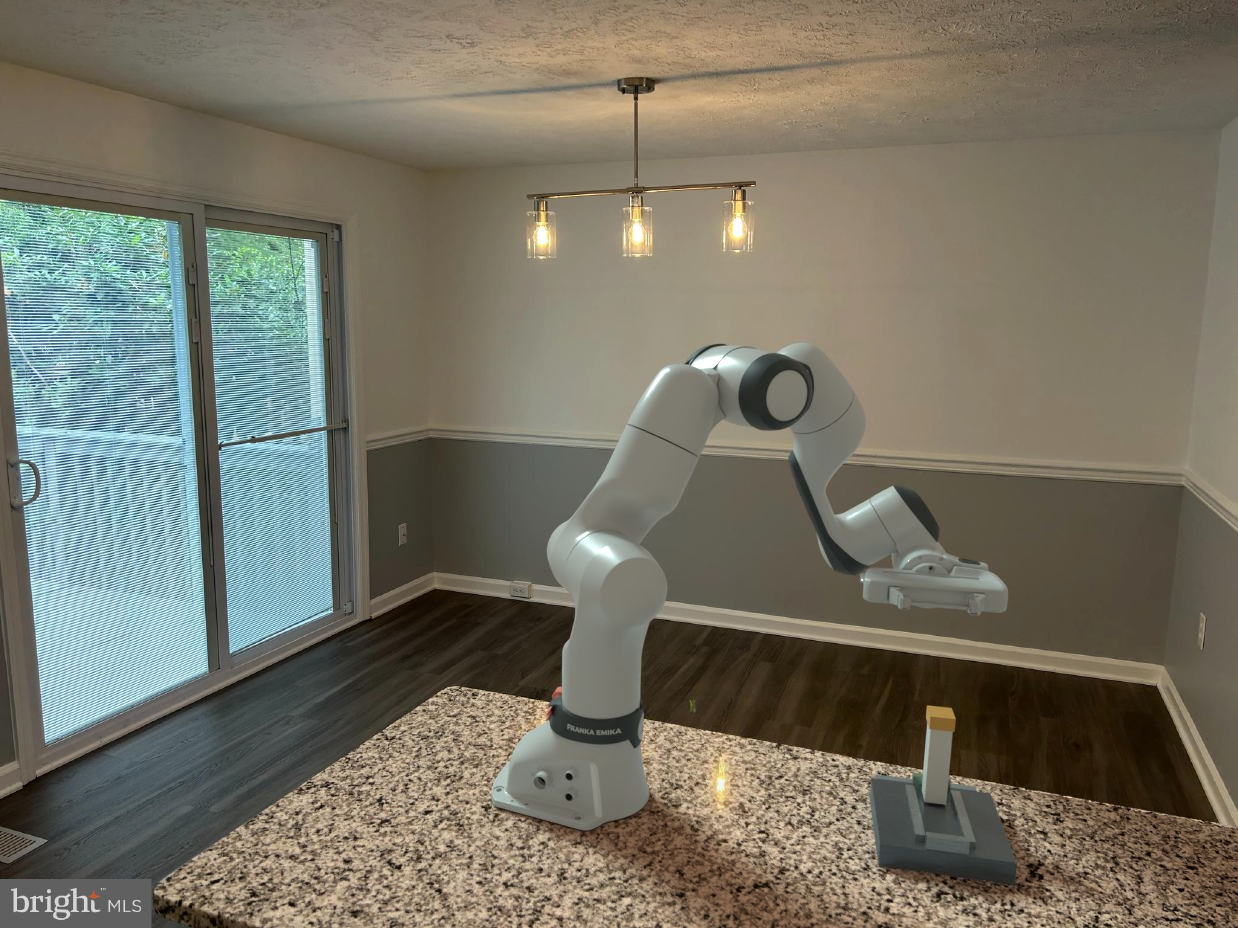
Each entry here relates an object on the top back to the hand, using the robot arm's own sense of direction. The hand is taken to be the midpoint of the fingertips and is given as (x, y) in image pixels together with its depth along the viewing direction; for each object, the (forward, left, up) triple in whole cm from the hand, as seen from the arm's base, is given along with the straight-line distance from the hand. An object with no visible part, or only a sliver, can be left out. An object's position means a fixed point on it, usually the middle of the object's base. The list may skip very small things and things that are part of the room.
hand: (940, 607), depth 122 cm
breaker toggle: (0, -8, -25) cm, 26 cm away
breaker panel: (0, -12, -28) cm, 31 cm away
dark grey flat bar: (0, -2, -28) cm, 28 cm away
